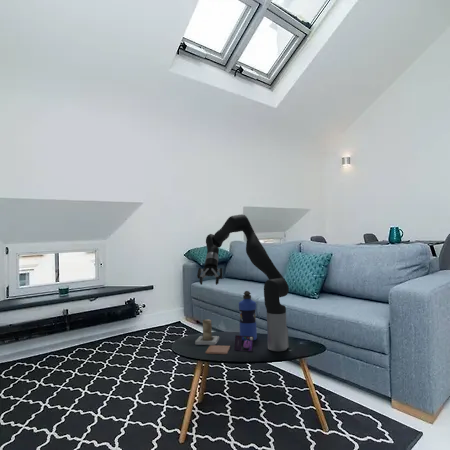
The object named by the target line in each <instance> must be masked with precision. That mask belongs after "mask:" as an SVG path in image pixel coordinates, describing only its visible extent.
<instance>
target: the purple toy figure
mask: <svg viewBox="0 0 450 450" xmlns="http://www.w3.org/2000/svg"><path fill="white" fill-rule="evenodd" d="M242 337H244V339H248V340H249V339H250V341H248V340H246V341H243V340H242ZM249 337H250V338H249ZM253 338H254V337H252V336H240V335H237V334H236V335H235V336H234V348H233V349H234V351H241V352H251V353H252V352H253V351H254V340H253ZM242 341H243V342H242ZM242 343H243V344H242ZM242 348H244V349H242ZM248 348H249V349H248ZM247 349H248V350H247Z"/></svg>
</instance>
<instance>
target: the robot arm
mask: <svg viewBox="0 0 450 450" xmlns="http://www.w3.org/2000/svg"><path fill="white" fill-rule="evenodd" d="M239 232H243V234H244V236H245V238H246V244H245V245H246V246H245V252H246V255H247V256H248V258H249V260H250V262H251V264H252V265H253V266H254V267H255V268H257V270H259V271H261V272H262V273H263V274H264V275H265V276H266V277H267V280H266V281H265V282H264V284H263V297H264V298H263V300H264V306H265V309H266V332H267V334H266V336H267V349H268V350H270V351H272V352H284V351H287V349H288V348H289V328H288V326H287V307H286V305H284V304H281V302H280V298H283V297H286V296H287V295H288V294H289V288H290V287H289V285H288V282H287V281H286V279H285V278H284V276H283V275H282V274H281V272H280V271H279V269H277V267H276V266H275V264H274V263H273V261H272V259H271V257H270V256H269V254H268V253H267V251H266V249H265V248H264V246H263V244H262V242H261V241H260V240H259V238H258V236H257V235H256V232H255V230H254V228H253V226H252V224H251V222H250V220H249V218H248V217H247V215H245V214H243V213H242V214H236V215H230V216H229V217H228V218H227V219H226V221H225V222H224V223H223V225H222V226H221V228H219V229H218V230H217V231H216V232H215V233H214V234H213V233H209V234H208V235H207V236H206V237H205V244H206V250H207V251H206V256H205V261H204V268H201V267H199V268H198V269H197V275H196V276H197V279H198V280H199V284H200V285H203V281H204V278H206V277H214V278H215V286H216V285H217V286H218V284H219V281H220V280H222V279H223V268H222V267H220V268H218V266H219V265H218V264H219V254H220V253H219V252H220V248H221V247H222V245H223V243H224V242H225V241H226V240H227V239H228V238H229V237H230V235H231V234H233V233H239ZM218 273H219V275H218Z"/></svg>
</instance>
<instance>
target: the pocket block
mask: <svg viewBox="0 0 450 450" xmlns="http://www.w3.org/2000/svg"><path fill="white" fill-rule="evenodd" d="M219 340H220V336H219V335H218V336H217V335H212V341H203V335H200V336H199V337H198V338H197V339H195V341H194V344H195V345H197V346H198V345H199V346H200V345H201V346H202V345H204V346H210V345H217V343H218V342H219Z"/></svg>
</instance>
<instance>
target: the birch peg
mask: <svg viewBox="0 0 450 450" xmlns="http://www.w3.org/2000/svg"><path fill="white" fill-rule="evenodd" d="M212 328H213V327H212V319H206V318H205V319H202V336H203V340H202V341H212V336H213V335H212V334H213V332H212V330H213V329H212Z"/></svg>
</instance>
